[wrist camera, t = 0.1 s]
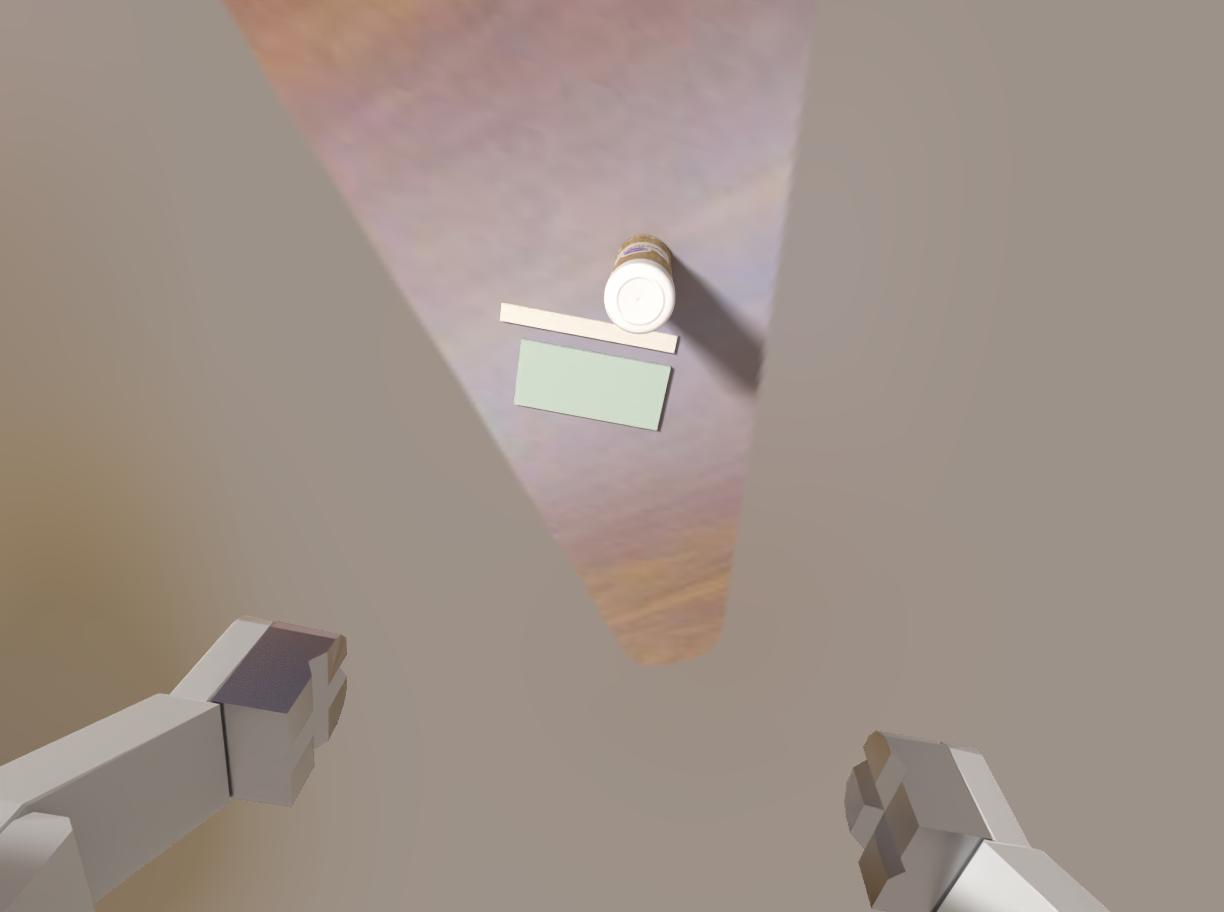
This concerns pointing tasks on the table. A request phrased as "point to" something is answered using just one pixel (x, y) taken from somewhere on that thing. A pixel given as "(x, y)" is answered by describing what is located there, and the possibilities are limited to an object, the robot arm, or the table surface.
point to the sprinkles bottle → (640, 286)
